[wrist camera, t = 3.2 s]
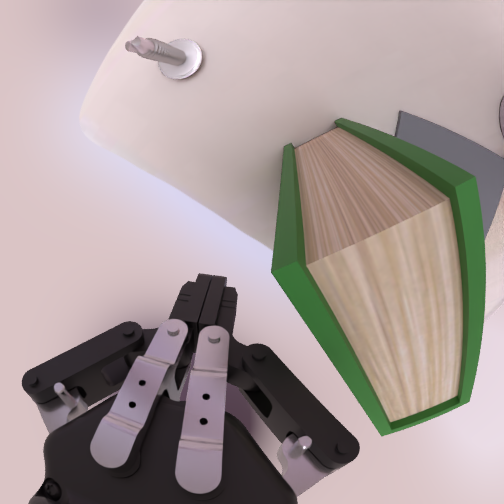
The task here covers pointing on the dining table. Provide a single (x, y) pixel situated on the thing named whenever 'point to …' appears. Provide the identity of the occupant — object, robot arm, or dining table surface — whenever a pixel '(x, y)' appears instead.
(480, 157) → the mat
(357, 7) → the dining table surface
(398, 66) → the dining table surface
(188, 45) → the screw
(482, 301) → the hardback book
